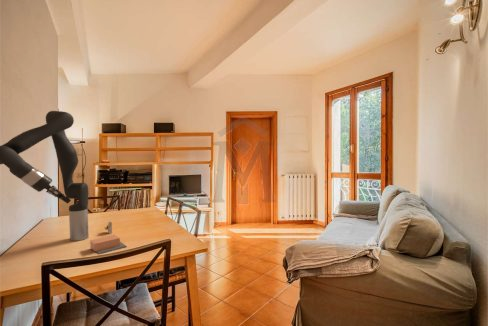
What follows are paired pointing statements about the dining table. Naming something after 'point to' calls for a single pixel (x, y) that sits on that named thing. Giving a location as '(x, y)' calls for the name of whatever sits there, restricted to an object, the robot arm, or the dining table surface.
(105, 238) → the pink rectangular block
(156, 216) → the dining table surface
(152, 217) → the dining table surface
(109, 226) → the architectural model
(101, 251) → the mat
